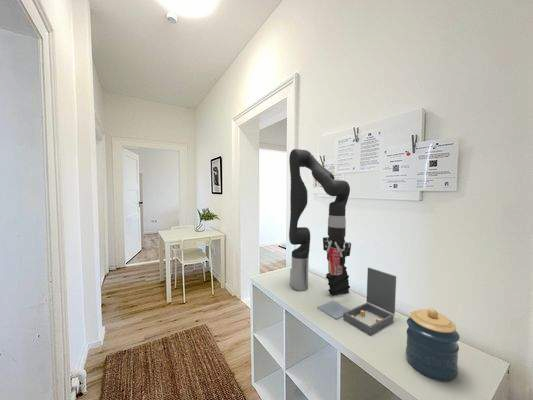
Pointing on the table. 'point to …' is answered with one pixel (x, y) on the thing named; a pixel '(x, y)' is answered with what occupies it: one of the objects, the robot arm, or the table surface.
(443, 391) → the table surface
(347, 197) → the robot arm
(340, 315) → the rubber mat
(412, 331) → the canister
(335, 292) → the magazine
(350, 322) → the case
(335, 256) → the beverage can
